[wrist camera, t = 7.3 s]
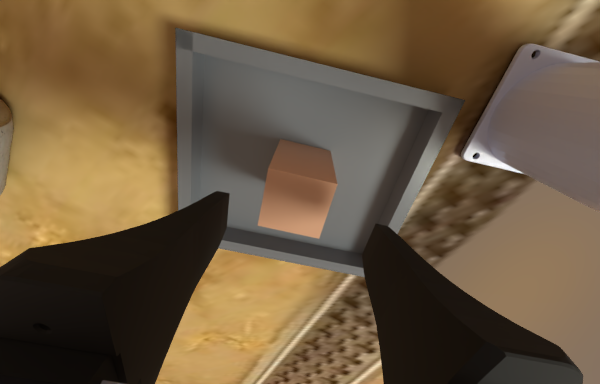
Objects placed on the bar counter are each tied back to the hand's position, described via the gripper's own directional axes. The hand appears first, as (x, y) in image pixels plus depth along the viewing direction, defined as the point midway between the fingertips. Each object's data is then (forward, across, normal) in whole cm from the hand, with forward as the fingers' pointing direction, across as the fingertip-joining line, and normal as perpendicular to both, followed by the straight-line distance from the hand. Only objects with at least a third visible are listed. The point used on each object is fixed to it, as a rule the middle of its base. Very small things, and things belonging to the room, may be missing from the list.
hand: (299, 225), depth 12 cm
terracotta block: (+9, 0, +1) cm, 9 cm away
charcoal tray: (+9, 0, +1) cm, 9 cm away
